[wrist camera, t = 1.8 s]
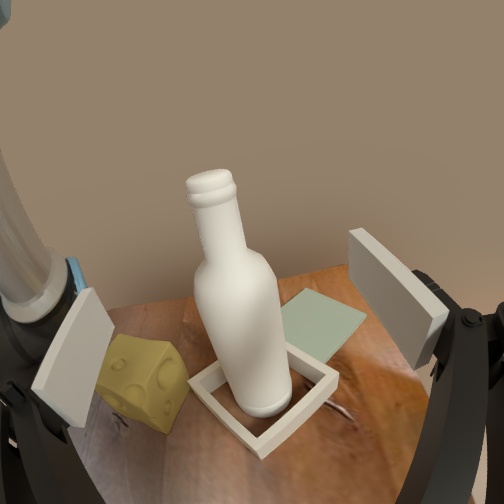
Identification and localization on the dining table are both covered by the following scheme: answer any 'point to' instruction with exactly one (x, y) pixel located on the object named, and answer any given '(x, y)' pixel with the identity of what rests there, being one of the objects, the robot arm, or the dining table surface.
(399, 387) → the dining table surface
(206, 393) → the bottle holder
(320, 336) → the mat
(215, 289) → the bottle
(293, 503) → the dining table surface
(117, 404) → the cheese
